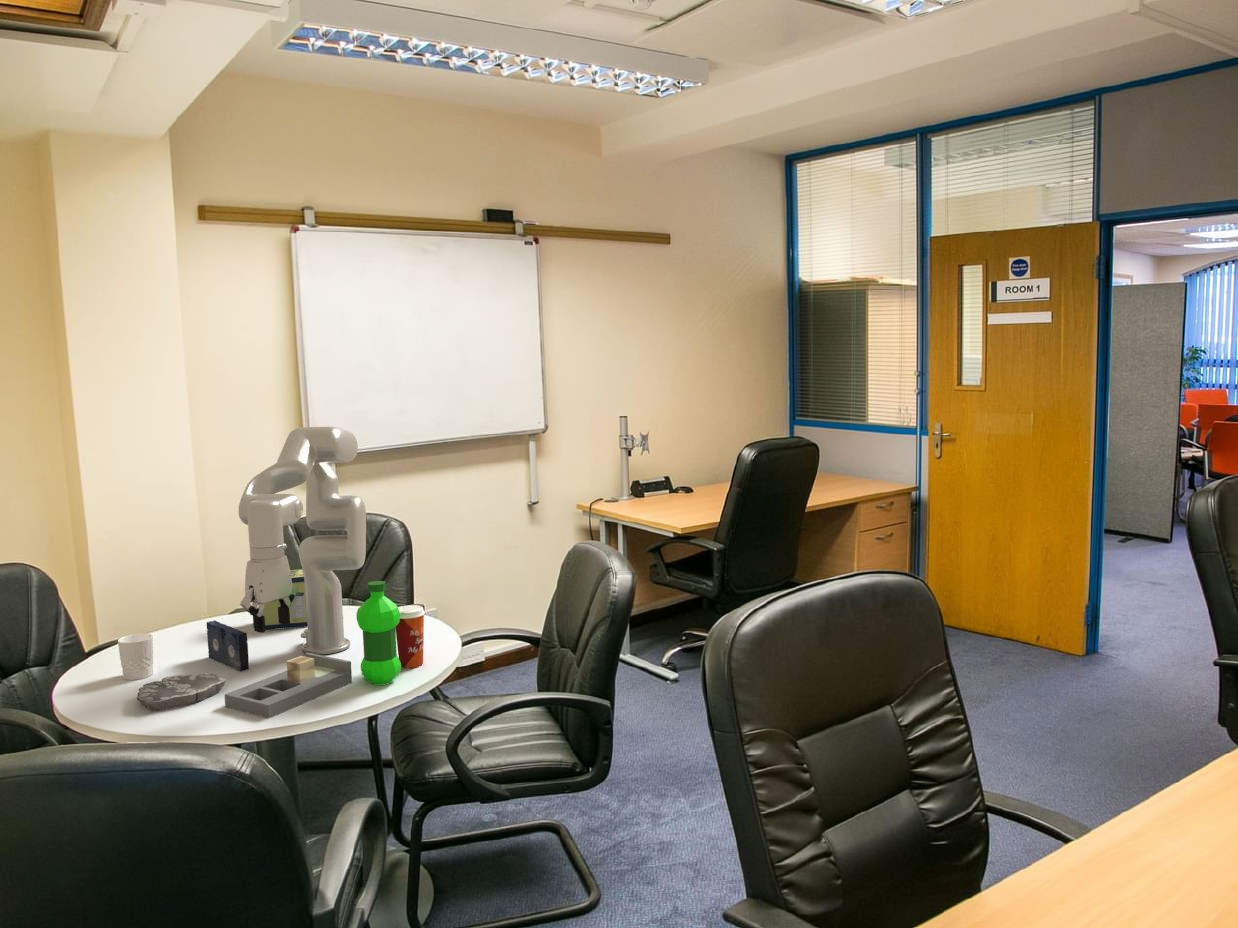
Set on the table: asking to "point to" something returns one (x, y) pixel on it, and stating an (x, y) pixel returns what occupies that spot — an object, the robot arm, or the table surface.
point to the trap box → (290, 688)
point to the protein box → (296, 610)
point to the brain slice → (179, 690)
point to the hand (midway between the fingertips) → (272, 627)
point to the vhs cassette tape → (227, 645)
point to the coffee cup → (410, 636)
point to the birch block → (300, 668)
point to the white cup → (136, 656)
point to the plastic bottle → (379, 635)
